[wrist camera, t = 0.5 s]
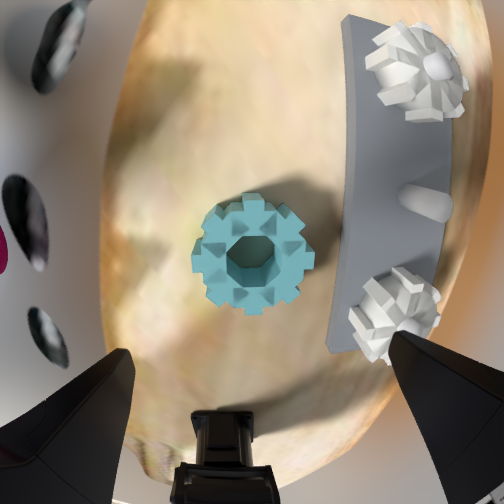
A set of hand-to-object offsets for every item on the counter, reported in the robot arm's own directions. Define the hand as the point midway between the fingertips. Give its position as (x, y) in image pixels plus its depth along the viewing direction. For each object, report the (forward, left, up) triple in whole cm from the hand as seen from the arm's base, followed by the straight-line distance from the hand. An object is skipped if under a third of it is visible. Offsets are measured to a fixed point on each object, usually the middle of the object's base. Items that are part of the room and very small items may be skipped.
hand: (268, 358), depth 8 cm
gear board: (+4, -11, -11) cm, 16 cm away
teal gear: (0, 0, -11) cm, 11 cm away
